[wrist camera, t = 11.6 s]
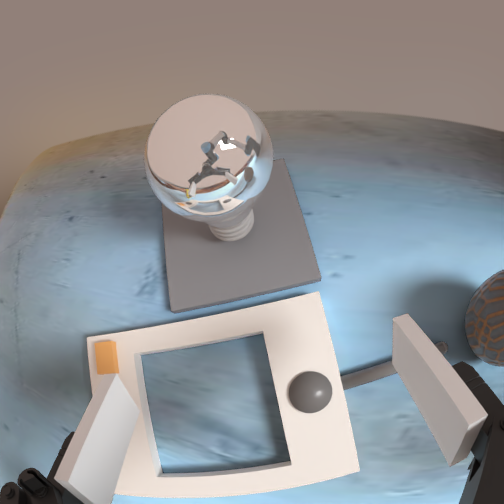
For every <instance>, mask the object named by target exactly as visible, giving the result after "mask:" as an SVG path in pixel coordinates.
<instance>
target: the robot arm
mask: <svg viewBox="0 0 504 504" xmlns="http://www.w3.org/2000/svg"><path fill="white" fill-rule="evenodd" d="M392 364H393V366H394V368H395V369H396V371H397V373H398V374H399V376H400V378H401V379H402V381H403V383H404V384H405V386H406V388H407V390H408V391H409V393H410V395H411V397H412V398H413V400H414V402H415V404H416V405H417V407H418V409H419V411H420V412H421V414H422V416H423V418H424V420H425V421H426V423H427V425H428V427H429V429H430V430H431V432H432V434H433V436H434V438H435V440H436V442H437V443H438V445H439V447H440V449H441V451H442V453H443V455H444V457H445V459H446V461H447V463H448V465H449V467H450V466H452V465H454V464H456V463H458V462H460V461H462V460H464V459H466V458H467V456H468V455H469V453H470V451H472V453H473V454H474V456H475V457H474V459H473V460H472V462H471V464H470V465H469V467H468V470H470V472H469V475H468V479H467V482H466V485H465V488H464V491H463V494H462V496H461V499H460V502H459V504H504V405H503V404H502V403H501V401H500V400H499V399H498V397H497V396H496V395H495V394H494V392H493V391H492V390H491V389H490V387H489V386H488V385H487V384H485V381H484V380H483V379H482V378H481V377H480V376H479V374H478V373H477V372H476V370H475V369H474V368H473V367H472V366H470V365H468V364H466V363H464V362H463V361H462V362H460V363H458V364H455V365H453V366H451V365H450V364H449V362H448V361H447V360H446V359H445V357H444V356H443V355H442V354H441V352H440V351H439V350H438V349H437V348H436V346H435V345H434V344H433V343H432V341H431V340H430V339H429V338H428V337H427V335H426V334H425V333H424V332H423V331H422V330H421V328H420V327H419V326H418V325H417V324H416V322H415V321H414V320H413V319H412V318H411V317H410V316H409V314H408V313H407V314H404V315H401V316H398V317H395V318H393V351H392ZM139 413H140V410H139V409H138V407H137V406H136V404H135V402H134V401H133V399H132V398H131V396H130V395H129V393H128V391H127V390H126V388H125V386H124V385H123V383H122V381H121V380H120V378H119V376H118V375H117V373H115V374H104V376H103V378H102V380H101V382H100V384H99V386H98V387H97V389H96V391H95V393H94V395H93V397H92V399H91V401H90V403H89V405H88V407H87V409H86V411H85V413H84V415H83V417H82V419H81V421H80V423H79V425H78V427H77V429H76V431H75V432H71V433H70V435H69V436H68V437H67V438H66V439H65V441H64V443H63V445H62V447H61V448H62V449H60V451H59V453H58V456H57V457H56V460H55V462H54V464H53V466H52V468H51V470H50V473H49V475H48V477H47V479H46V478H45V477H44V476H43V475H42V474H41V473H40V472H39V471H38V470H36V469H35V468H28V469H26V470H24V471H23V472H22V473H21V474H20V475H19V478H18V485H19V486H20V487H21V488H20V487H19V486H18V485H17V484H16V483H14V482H9V483H6V484H5V485H4V486H3V487H2V489H1V492H0V504H111V503H112V499H113V496H114V492H115V489H116V485H117V482H118V479H119V475H120V472H121V469H122V465H123V462H124V459H125V456H126V453H127V449H128V446H129V443H130V440H131V437H132V434H133V431H134V428H135V425H136V422H137V419H138V416H139Z"/></svg>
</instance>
